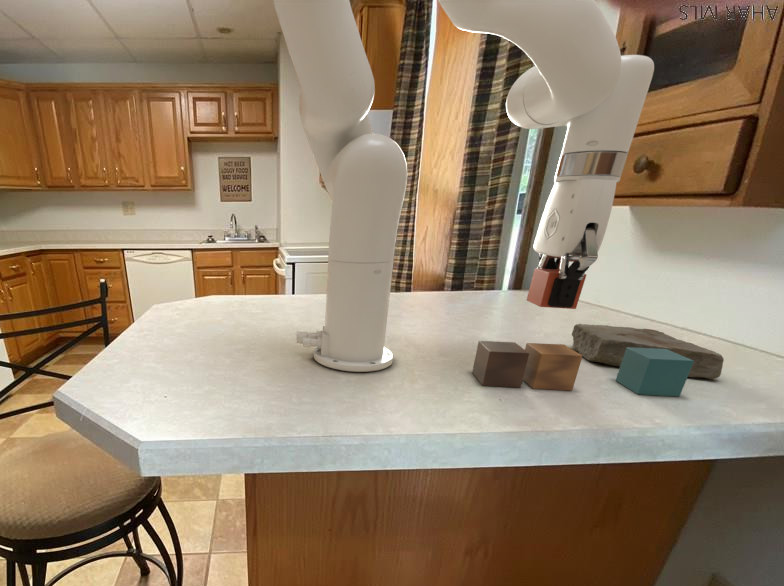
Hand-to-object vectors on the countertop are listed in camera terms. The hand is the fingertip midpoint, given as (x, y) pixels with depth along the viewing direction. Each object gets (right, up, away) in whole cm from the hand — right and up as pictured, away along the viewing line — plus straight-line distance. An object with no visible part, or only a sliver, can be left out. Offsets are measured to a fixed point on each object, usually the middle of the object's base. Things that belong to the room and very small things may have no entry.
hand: (550, 301), depth 65 cm
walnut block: (-11, -12, -4) cm, 17 cm away
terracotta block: (0, 0, 0) cm, 0 cm away
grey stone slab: (+16, -9, +5) cm, 19 cm away
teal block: (+9, -13, -7) cm, 17 cm away
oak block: (-4, -12, -5) cm, 14 cm away
